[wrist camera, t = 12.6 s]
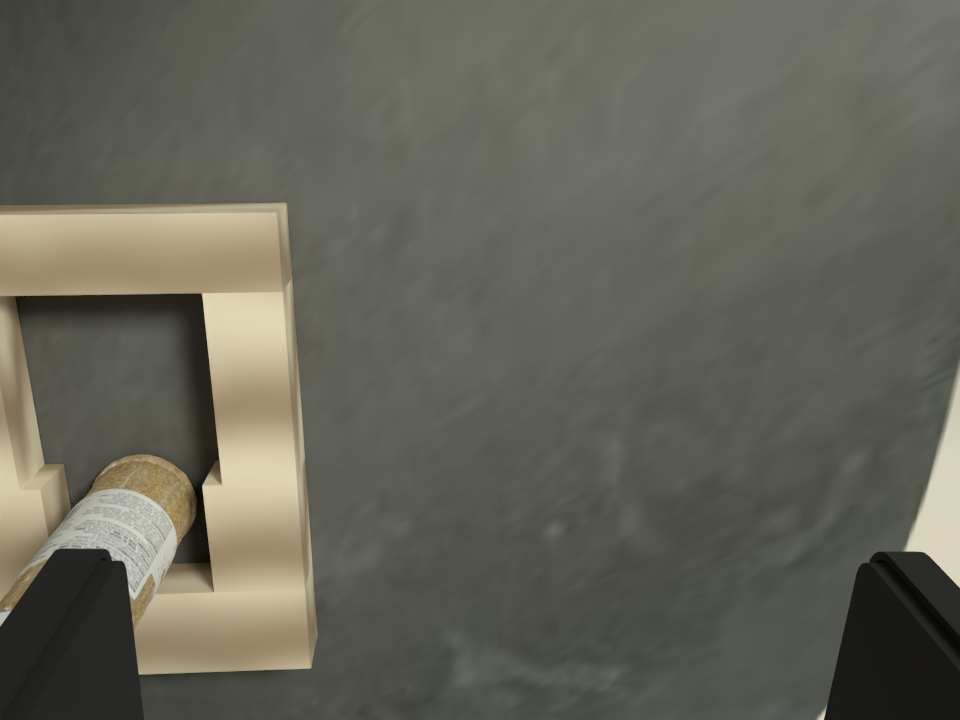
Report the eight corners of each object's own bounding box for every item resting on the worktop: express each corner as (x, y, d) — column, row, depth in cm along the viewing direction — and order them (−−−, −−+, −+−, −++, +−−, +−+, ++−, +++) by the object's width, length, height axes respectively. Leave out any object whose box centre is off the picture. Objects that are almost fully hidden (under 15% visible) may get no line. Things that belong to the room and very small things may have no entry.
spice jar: (151, 562, 39) (17, 800, 27) (70, 494, 38) (-110, 711, 25) (223, 499, 38) (121, 714, 26) (143, 428, 37) (-6, 617, 24)
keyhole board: (-82, 206, 34) (-118, 216, 32) (286, 202, 35) (276, 212, 32) (8, 645, 40) (-17, 680, 38) (317, 634, 41) (310, 668, 39)
